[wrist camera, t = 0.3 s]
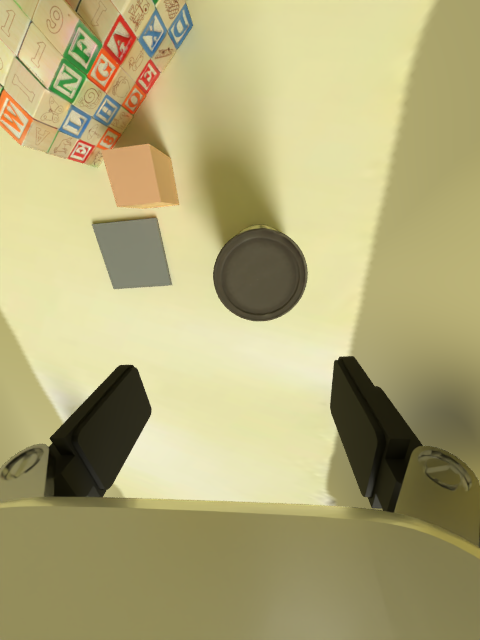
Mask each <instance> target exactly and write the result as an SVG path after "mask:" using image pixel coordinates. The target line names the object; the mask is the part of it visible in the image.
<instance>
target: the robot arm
mask: <svg viewBox="0 0 480 640" xmlns="http://www.w3.org/2000/svg"><path fill="white" fill-rule="evenodd" d="M330 409H331V414H332V416H333V419H334V422H335V424H336V427H337V430H338V432H339V435H340V438H341V441H342V443H343V446H344V448H345V451H346V454H347V457H348V459H349V462H350V465H351V467H352V470H353V473H354V475H355V478H356V480H357V483H358V486H359V489H360V491H361V494H362V495H363V496H364V497H368V499H369V502H370V504H371V507H372V508H382V509H383V511H382V510H374V509H365V508H356V507H341V506H324V505H307V504H283V503H258V502H233V501H204V500H175V499H143V498H107V497H103V496H104V494H105V492H106V490H107V489H109V488H110V487H111V486H112V484H113V483H114V481H115V479H116V477H117V475H118V473H119V472H120V470H121V468H122V466H123V464H124V463H125V461H126V459H127V457H128V455H129V454H130V452H131V450H132V448H133V446H134V444H135V443H136V441H137V439H138V437H139V435H140V434H141V432H142V430H143V428H144V426H145V425H146V423H147V421H148V419H149V417H150V415H151V406H150V403H149V400H148V397H147V395H146V392H145V389H144V386H143V383H142V380H141V378H140V375H139V372H138V370H137V368H135V367H134V366H133V365H120V366H118V367H117V368H116V369H115V370H114V371H113V372H112V373H111V374H110V375H109V377H108V378H107V379H106V380H105V381H104V382H103V383H102V384H101V385H100V386H99V387H98V388H97V389H96V390H95V391H94V392H93V393H92V394H91V395H90V396H89V397H88V399H87V400H86V401H85V402H84V403H83V404H82V405H81V406H80V407H79V408H78V409H77V410H76V411H75V412H74V413H73V414H72V415H71V416H70V417H69V418H68V419H67V421H66V422H65V423H64V424H63V425H62V426H61V427H60V428H59V429H58V430H57V431H56V432H55V433H54V434H53V435H52V436H51V437H50V440H51V441H52V444H51V445H50V446H49V447H48V446H47V445H46V444H37V445H33V446H30V447H28V448H26V449H24V450H22V451H20V452H18V453H17V454H15V455H14V456H13V457H11V458H10V459H9V460H8V461H7V462H5V463H4V464H3V465H2V467H1V468H0V640H480V484H479V480H478V478H477V477H476V475H475V473H474V472H473V471H472V470H471V469H470V468H469V467H468V466H467V464H466V463H464V462H463V461H462V460H460V459H459V458H458V457H457V456H455V455H453V454H451V453H449V452H448V451H446V450H443V449H440V448H437V447H433V446H423V445H422V444H421V443H420V441H419V440H418V438H417V437H416V436H415V434H414V433H413V432H412V430H411V429H410V427H409V426H408V425H407V423H406V422H405V420H404V419H403V418H402V416H401V415H400V413H399V412H398V411H397V409H396V408H395V407H394V405H393V404H392V402H391V401H390V400H389V398H388V397H387V396H386V394H385V393H384V391H383V390H382V389H381V388H380V387H377V386H376V387H375V386H374V385H373V383H372V382H371V380H370V379H369V378H368V376H367V375H366V373H365V372H364V370H363V369H362V367H361V366H360V365H359V363H358V362H357V360H356V359H355V357H353V356H348V357H339V359H338V360H335V361H334V370H333V381H332V392H331V403H330ZM87 496H88V497H87Z"/></svg>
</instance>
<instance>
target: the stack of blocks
mask: <svg viewBox="0 0 480 640" xmlns="http://www.w3.org/2000/svg"><path fill="white" fill-rule="evenodd" d="M192 26H193V23H192V20H191V17H190V14H189V11H188V8H187V5H186V2H185V0H0V126H1V127H2V128H3V129H4V130H5V131H6V132H8V133H9V134H10V135H11V136H12V137H13V138H14V139H15V140H16V141H17V142H18V143H19V144H20V145H21V146H25V147H28V148H32V149H35V150H39V151H43V152H45V153H47V154H51V155H54V156H58V157H61V158H65V159H66V158H67V159H70V160H73V161H77V162H81V163H84V164H87V165H90V166H93V167H97V168H98V167H99V166H100V164H101V163H102V161H103V160H104V159H103V155H102V152H101V150H107V149H112V148H113V146H114V145H115V143H116V142H117V140H118V139H119V137H120V136H121V134H122V133H123V131H124V130H125V129H126V127H127V126H128V124H129V123H130V121H131V120H132V118H133V115H134V113H135V112H136V110H137V109H138V107H139V106H140V104H141V103H142V101H143V100H144V98H145V97H146V94H147V93H148V91H149V90H150V88H151V87H152V85H153V84H154V82H155V81H156V79H157V78H158V76H159V75H160V73H162V72H163V70H164V69H165V67H166V66H167V64H168V63H169V61H170V60H171V58H172V57H173V56H174V54H175V52H176V50H177V49H178V48H179V46H180V45H181V43H182V42H183V40H184V39H185V37H186V35H187V34H188V32H189V31H190V30H191V28H192Z"/></svg>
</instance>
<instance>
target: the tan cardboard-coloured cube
mask: <svg viewBox="0 0 480 640" xmlns="http://www.w3.org/2000/svg"><path fill="white" fill-rule="evenodd" d="M101 152H102V155H103V159H104V162H105V166H106V169H107V173H108V176H109V180H110V183H111V187H112V190H113V194H114V197H115V201H116V204H117V207H126V208H139V209H145V208H155V207H164V206H173V205H179V201H178V196H177V190H176V184H175V179H174V173H173V168H172V162H171V158H170V157H168V156H167V155H165V154H164V153H162V152H161V151H159V150H158V149H156V148H155V147H153V146H152V145H150V144H143V145H135V146H128V147H121V148H114V149H107V150H101Z"/></svg>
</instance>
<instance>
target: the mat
mask: <svg viewBox="0 0 480 640" xmlns="http://www.w3.org/2000/svg"><path fill="white" fill-rule="evenodd" d="M92 226H93V229H94V232H95V235H96V238H97V241H98V244H99V247H100V250H101V253H102V256H103V259H104V262H105V265H106V268H107V271H108V274H109V277H110V280H111V282H112V285H113V288H114V289H122V288H137V287H152V286H167V285H172V283H171V278H170V274H169V269H168V265H167V260H166V256H165V251H164V247H163V242H162V238H161V233H160V229H159V224H158V220H157V218H150V219H140V220H130V221H120V222H111V223H101V224H92Z"/></svg>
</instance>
